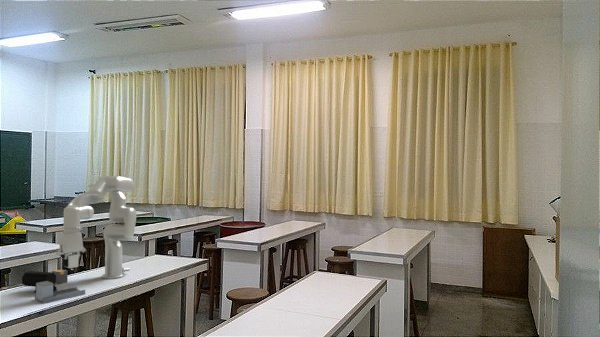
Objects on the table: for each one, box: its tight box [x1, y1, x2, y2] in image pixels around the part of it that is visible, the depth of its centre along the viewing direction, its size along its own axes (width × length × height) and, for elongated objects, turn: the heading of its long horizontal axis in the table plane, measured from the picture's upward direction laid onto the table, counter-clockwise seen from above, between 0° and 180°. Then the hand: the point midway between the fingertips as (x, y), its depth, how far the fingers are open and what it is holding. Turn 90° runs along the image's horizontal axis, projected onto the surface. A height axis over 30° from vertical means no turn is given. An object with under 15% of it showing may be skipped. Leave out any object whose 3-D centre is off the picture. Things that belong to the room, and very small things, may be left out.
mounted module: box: [35, 281, 53, 301], centre depth 207 cm, size 5×7×8 cm
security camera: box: [21, 270, 59, 293], centre depth 222 cm, size 7×18×10 cm, turn 78°
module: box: [63, 253, 80, 269], centre depth 217 cm, size 5×6×6 cm
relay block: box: [51, 268, 69, 285], centre depth 239 cm, size 5×6×7 cm
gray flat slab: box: [34, 286, 86, 305], centre depth 213 cm, size 20×10×2 cm, turn 142°
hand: (71, 265), depth 217 cm, fingers closed on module, 4 cm apart
